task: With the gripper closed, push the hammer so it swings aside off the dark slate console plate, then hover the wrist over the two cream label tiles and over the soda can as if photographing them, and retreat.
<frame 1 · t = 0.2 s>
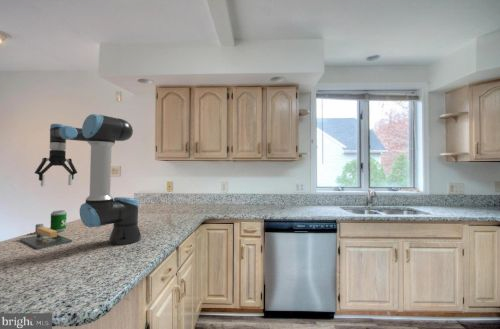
hand: (56, 185, 145), 28 cm above the table, fingers open, 13 cm apart
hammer: (45, 230, 127), point 6 cm above the table, hinge at 0.0°
soda can: (58, 231, 147), on the table
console: (45, 241, 127), on the table
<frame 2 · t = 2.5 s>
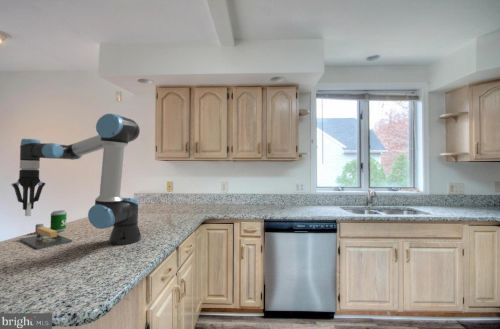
hand: (27, 215, 123), 14 cm above the table, fingers closed
nothing on the table moved.
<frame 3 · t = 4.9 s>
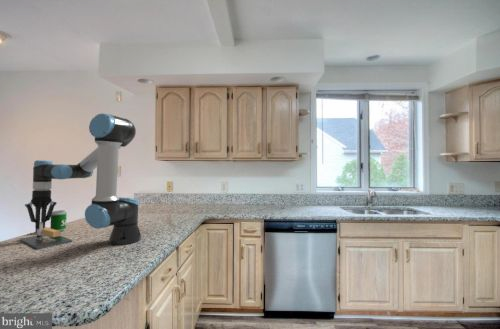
hand: (39, 234, 127), 3 cm above the table, fingers closed
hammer: (46, 230, 128), point 5 cm above the table, hinge at 3.5°, touching gripper
everything else where it was.
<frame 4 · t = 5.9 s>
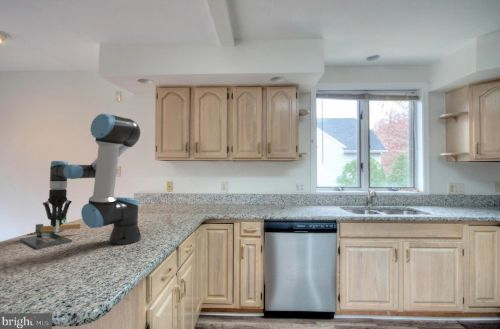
hand: (56, 232, 133), 3 cm above the table, fingers closed
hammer: (58, 226, 136), point 6 cm above the table, hinge at 60.9°
everything else where it was.
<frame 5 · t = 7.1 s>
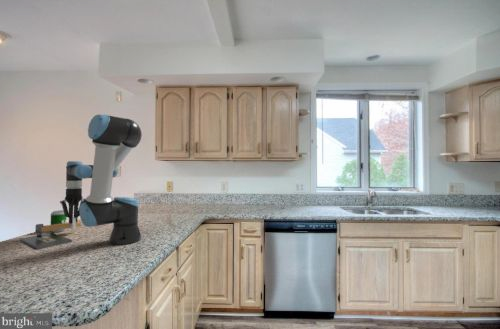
hand: (72, 228, 140), 3 cm above the table, fingers closed
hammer: (59, 225, 138), point 5 cm above the table, hinge at 77.4°, touching gripper
everything else where it was.
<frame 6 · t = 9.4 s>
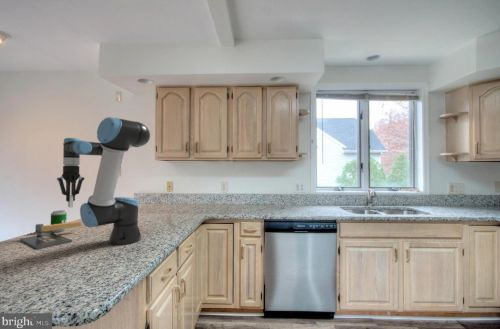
hand: (70, 207, 137), 16 cm above the table, fingers closed
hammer: (59, 225, 138), point 5 cm above the table, hinge at 78.4°
everything else where it was.
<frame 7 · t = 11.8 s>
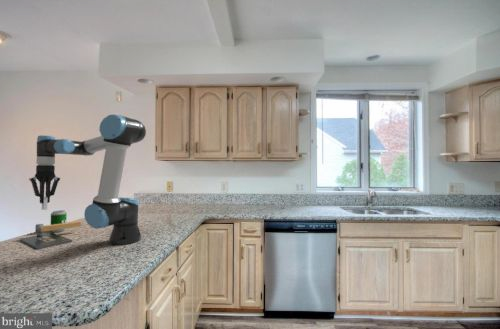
hand: (44, 209, 129), 16 cm above the table, fingers closed
nothing on the table moved.
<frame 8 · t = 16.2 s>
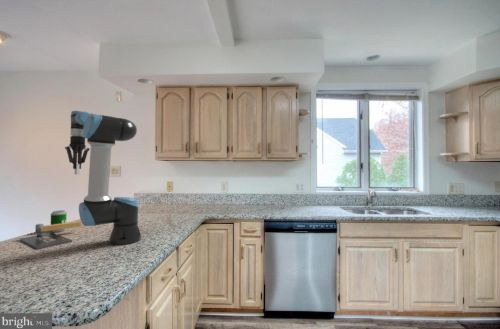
hand: (76, 174, 150), 34 cm above the table, fingers closed
nothing on the table moved.
at the end: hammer at +78° (first picture: +0°); soda can moved 0.2 cm from its start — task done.
